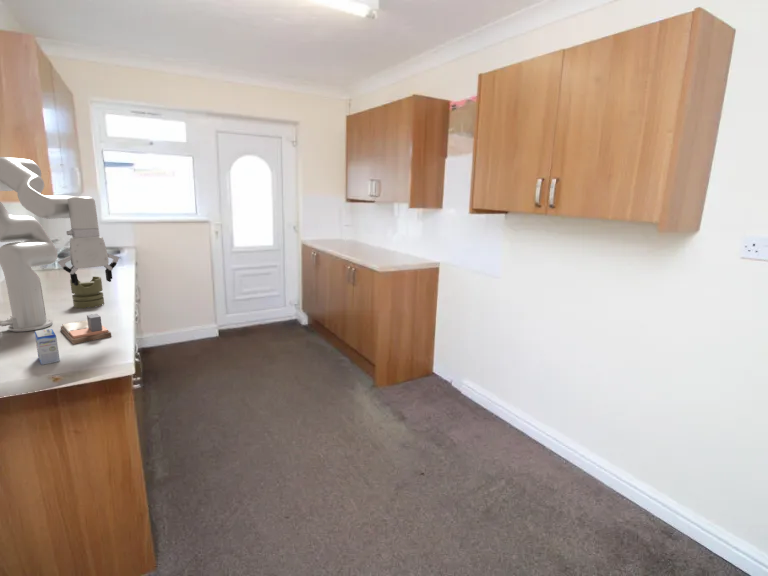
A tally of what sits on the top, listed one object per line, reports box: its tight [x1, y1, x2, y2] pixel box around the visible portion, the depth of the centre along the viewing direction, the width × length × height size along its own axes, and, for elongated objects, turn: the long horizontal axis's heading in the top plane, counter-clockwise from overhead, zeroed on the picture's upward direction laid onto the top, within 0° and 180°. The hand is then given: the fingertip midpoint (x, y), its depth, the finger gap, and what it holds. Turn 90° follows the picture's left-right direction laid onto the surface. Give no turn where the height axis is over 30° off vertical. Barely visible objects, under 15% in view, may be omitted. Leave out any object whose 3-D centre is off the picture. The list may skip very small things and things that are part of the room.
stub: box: [69, 313, 109, 338], centre depth 144 cm, size 10×7×6 cm
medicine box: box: [34, 328, 61, 366], centre depth 124 cm, size 8×4×9 cm, turn 45°
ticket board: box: [60, 319, 112, 345], centre depth 149 cm, size 11×20×2 cm, turn 47°
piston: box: [69, 276, 105, 309], centre depth 185 cm, size 11×12×11 cm
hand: (92, 283), depth 144 cm, fingers open, 9 cm apart
